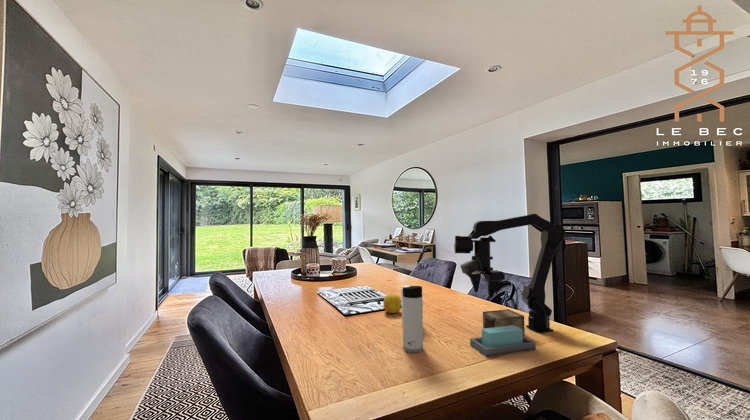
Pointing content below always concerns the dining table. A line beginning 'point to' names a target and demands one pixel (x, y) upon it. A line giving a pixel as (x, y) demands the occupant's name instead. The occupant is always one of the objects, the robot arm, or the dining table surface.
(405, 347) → the travel mug
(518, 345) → the tray
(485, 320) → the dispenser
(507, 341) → the teal long block
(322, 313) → the dining table surface
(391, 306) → the fruit
